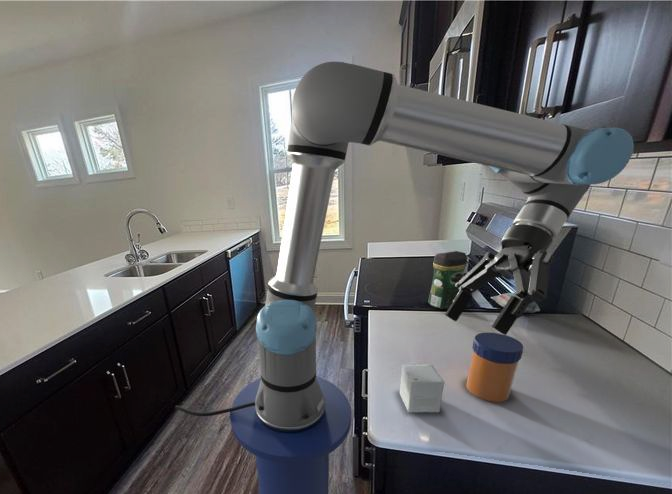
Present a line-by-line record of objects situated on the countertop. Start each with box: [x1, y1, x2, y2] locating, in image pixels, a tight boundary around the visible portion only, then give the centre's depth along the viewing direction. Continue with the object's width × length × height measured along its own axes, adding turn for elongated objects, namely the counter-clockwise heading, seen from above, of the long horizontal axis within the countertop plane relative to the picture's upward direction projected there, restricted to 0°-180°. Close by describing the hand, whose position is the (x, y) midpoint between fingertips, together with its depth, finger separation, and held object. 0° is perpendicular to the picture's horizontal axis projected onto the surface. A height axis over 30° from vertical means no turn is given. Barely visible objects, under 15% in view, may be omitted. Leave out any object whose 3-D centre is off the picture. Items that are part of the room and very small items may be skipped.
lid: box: [472, 332, 524, 363], centre depth 63 cm, size 8×8×2 cm
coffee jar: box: [427, 250, 468, 310], centre depth 105 cm, size 10×8×19 cm
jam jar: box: [466, 350, 519, 403], centre depth 65 cm, size 8×8×11 cm
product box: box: [399, 364, 445, 413], centre depth 63 cm, size 6×6×7 cm
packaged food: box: [490, 292, 541, 314], centre depth 102 cm, size 9×12×5 cm
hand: (471, 323), depth 64 cm, fingers open, 13 cm apart
